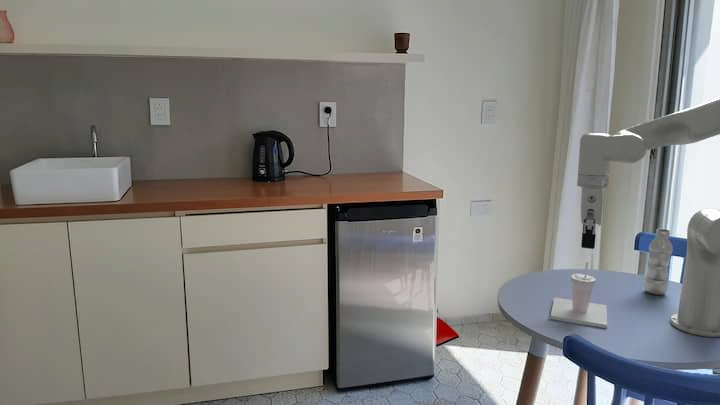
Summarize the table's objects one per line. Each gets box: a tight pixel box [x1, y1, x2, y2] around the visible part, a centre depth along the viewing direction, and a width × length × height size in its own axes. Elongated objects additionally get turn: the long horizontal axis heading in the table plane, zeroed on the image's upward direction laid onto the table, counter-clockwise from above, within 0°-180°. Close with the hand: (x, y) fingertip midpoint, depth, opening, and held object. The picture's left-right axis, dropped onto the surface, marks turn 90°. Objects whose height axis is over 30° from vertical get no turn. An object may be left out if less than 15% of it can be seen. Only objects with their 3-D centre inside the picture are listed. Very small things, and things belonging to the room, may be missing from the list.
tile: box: [549, 297, 608, 329], centre depth 148 cm, size 14×14×1 cm
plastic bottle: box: [643, 228, 674, 296], centre depth 161 cm, size 6×7×20 cm
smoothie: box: [570, 262, 596, 313], centre depth 146 cm, size 6×6×14 cm
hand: (588, 243), depth 144 cm, fingers open, 9 cm apart
